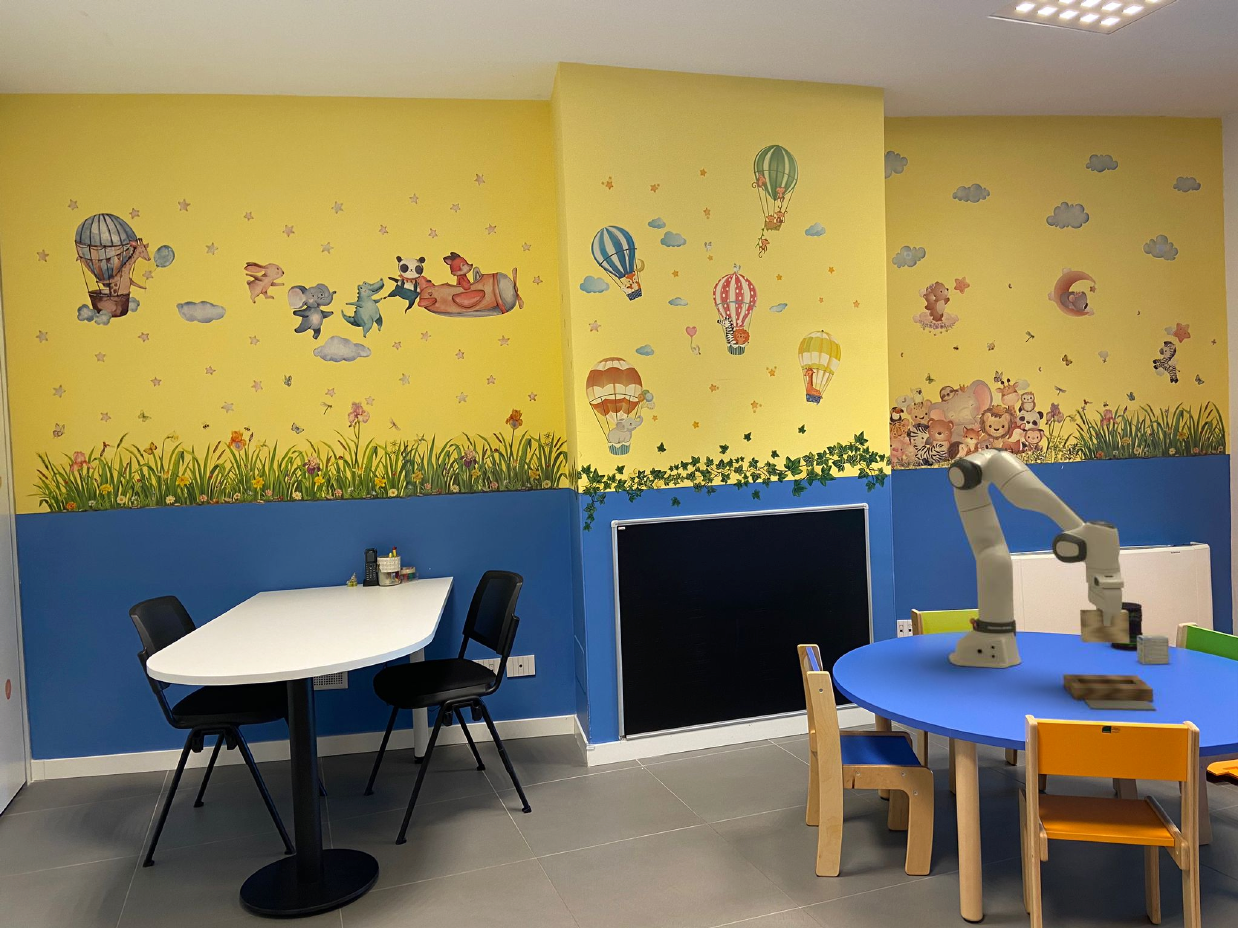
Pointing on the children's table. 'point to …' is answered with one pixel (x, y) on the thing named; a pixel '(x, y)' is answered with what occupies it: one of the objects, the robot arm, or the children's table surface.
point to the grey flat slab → (1119, 705)
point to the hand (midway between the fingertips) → (1104, 623)
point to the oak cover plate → (1104, 627)
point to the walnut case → (1107, 687)
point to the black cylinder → (1131, 627)
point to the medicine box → (1153, 649)
